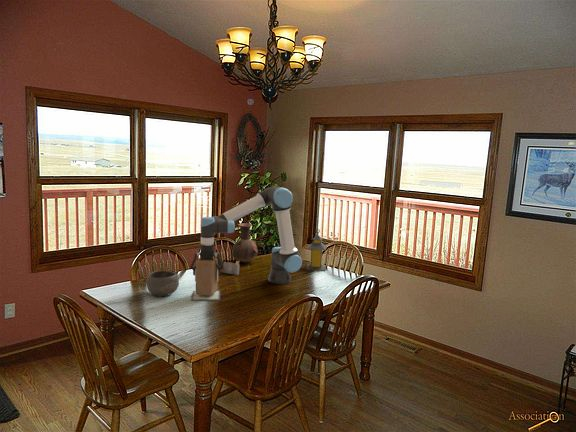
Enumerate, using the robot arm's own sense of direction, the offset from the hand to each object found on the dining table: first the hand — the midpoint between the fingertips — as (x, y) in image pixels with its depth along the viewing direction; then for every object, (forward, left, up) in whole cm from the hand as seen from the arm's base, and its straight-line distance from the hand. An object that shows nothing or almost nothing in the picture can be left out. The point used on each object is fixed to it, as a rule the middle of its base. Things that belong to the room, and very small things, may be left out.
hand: (206, 280), depth 245 cm
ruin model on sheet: (-15, -48, -10) cm, 51 cm away
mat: (0, 0, -9) cm, 9 cm away
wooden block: (0, 0, -7) cm, 7 cm away
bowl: (+25, -3, -10) cm, 27 cm away
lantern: (-79, -62, -10) cm, 101 cm away
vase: (-26, -78, -9) cm, 83 cm away
